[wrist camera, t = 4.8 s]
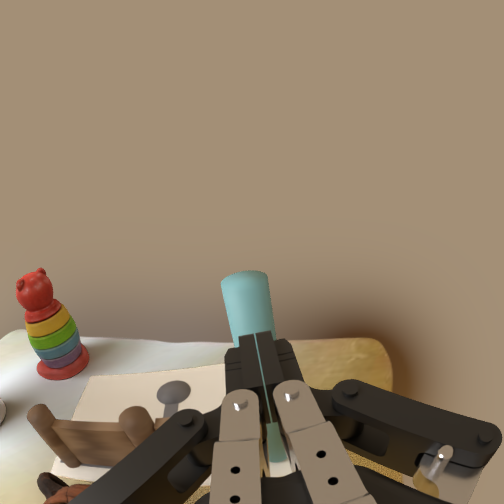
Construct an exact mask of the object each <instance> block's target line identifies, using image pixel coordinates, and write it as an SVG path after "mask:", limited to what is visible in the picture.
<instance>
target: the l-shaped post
mask: <svg viewBox="0 0 504 504" xmlns="http://www.w3.org/2000/svg"><path fill="white" fill-rule="evenodd" d="M221 288H222V292H223V297H224V302H225V306H226V311H227V315H228V320H229V324H230V329H231V333H232V337H233V342H234V346H235V348H236V347H239V339H238V336H242V335H247V334H253V333H254V337H255V342H256V348H257V353H258V358H259V363H260V368H261V374H262V379H263V384H264V389H265V395H266V400H267V405H268V410H269V415H270V421H271V423H270V424H266V426H267V431H268V434H267V439H268V451H269V462H274V463H276V462H281V461H284V460H285V459H287V455H286V452H285V449H284V446H283V443H282V440H281V437H280V432H279V427H278V422H275V423H273V422H272V417H271V412H270V407H269V402H268V397H267V392H266V387H265V382H264V377H263V372H262V366H261V361H260V356H259V351H258V345H257V340H256V335H255V333H258V332H263V331H269V330H271V333H272V336H273V340H276V333H275V326H274V319H273V312H272V305H271V298H270V291H269V284H268V277H267V275H266V274H265V273H263V272H260V271H242V272H238V273H234V274H232V275H229V276H227V277H226V278H225V279H223V281H222V282H221ZM169 418H170V417H167V418H156V419H155V425H154V428H155V430H157V429H158V428H159V427H160V426H161V425H162V424H163V423H165V422H166V421H167V420H168V419H169Z"/></svg>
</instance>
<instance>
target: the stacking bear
mask: <svg viewBox="0 0 504 504" xmlns="http://www.w3.org/2000/svg"><path fill="white" fill-rule="evenodd" d="M16 287H17V288H16V297H17V300H18V301H19V303H20V304H21V305H22V306H23V307H24V308H25V309H26V312H25V324H26V329H27V332H28V337H29V340H30V343H31V345H32V347H33V349H34V350H35V352H36V353H37V355H38V356H39V357H40V359H41V361H40V362H39V363H38V365H37V372H38V374H39V375H40V376H42V377H44V378H47V379H51V380H61V379H66V378H70V377H72V376H74V375H76V374H77V373H79V372H80V371H81V370H83V369H84V367H85V366H86V365H87V363H88V360H89V354H88V352H87V350H86V348H85V347H84V346H83V345H82V344H81V342H80V337H79V333H78V329H77V327H76V324H75V322H74V320H73V318H72V317H71V315H70V314H69V313H68V311H67V309H66V308H65V307H64V305H63V304H61V303H60V302H59V301H57V300H56V299H53V287H52V284H51V282H50V280H49V278H48V277H47V276H46V272H45V270H44V269H42V268H38V269H37V271H36V272H31V273H29V274H26V275H24V276H23V277H22V278H21V279H19V280H18V281H17V283H16Z"/></svg>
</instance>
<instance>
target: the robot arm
mask: <svg viewBox="0 0 504 504" xmlns="http://www.w3.org/2000/svg"><path fill="white" fill-rule="evenodd" d="M255 335H256V340H257V345H258V351H259V356H260V361H261V366H262V372H263V377H264V382H265V387H266V392H267V397H268V402H269V407H270V412H271V417H272V422H273V423H275V422H278V427H279V432H280V437H281V440H282V443H283V446H284V449H285V452H286V455H287V458H288V461H289V464H290V467H291V471H292V473H291V474H288V475H286V476H283V477H271V476H270V465H269V451H268V439H267V434H268V431H267V426H266V424H270V423H271V421H270V415H269V410H268V405H267V400H266V395H265V389H264V384H263V379H262V374H261V368H260V363H259V358H258V353H257V348H256V342H255V337H254V333H253V334H247V335H242V336H238V339H239V347H236V348H230V349H228V351H227V353H226V354H225V356H224V358H225V385H226V396H225V397H224V399H223V401H222V404H221V405H220V406H219V407H218V408H216V409H214V410H212V411H210V412H207V413H204V414H202V413H201V412H200V411H198V410H195V409H183V410H180V411H178V412H176V413H175V414H173V415H172V416H171V417H170V418H169V419H168V420H167V421H166V422H165V423H163V424H162V425H161V426H160V427H159V428H158V429H157V430H156V431H154V432H153V433H152V434H151V435H150V436H149V437H148V438H147V439H145V440H144V441H143V442H142V443H141V444H140V445H139V446H137V447H136V448H135V449H134V450H133V451H132V452H130V453H129V454H128V455H127V456H126V457H124V458H123V459H122V460H121V461H120V462H118V463H117V464H116V465H115V466H114V467H112V468H111V469H110V470H109V471H108V472H106V473H105V474H104V475H103V476H101V477H100V478H99V479H98V480H96V481H95V482H94V483H93V484H91V485H90V486H89V487H88V488H86V489H85V490H84V491H82V492H81V493H80V494H79V495H77V496H76V497H75V498H73V499H72V500H71V501H70V502H69V503H68V504H183V503H184V502H185V501H186V500H187V499H188V498H189V497H190V496H191V495H192V494H193V493H194V492H195V491H196V490H197V489H198V488H199V487H200V486H201V485H202V484H203V483H204V481H205V480H206V479H207V478H208V477H209V476H210V475H211V486H210V492H209V493H207V494H205V495H204V496H202V497H201V498H200V499H199V500H197V501H196V502H195V503H194V504H468V502H469V499H470V497H471V495H472V493H473V491H474V488H475V486H476V484H477V481H478V479H479V477H480V474H481V472H482V470H483V468H484V467H485V465H486V464H487V463H488V462H489V460H490V459H491V458H492V456H493V455H494V454H495V452H496V451H497V449H498V448H499V446H500V444H501V442H502V434H501V431H500V430H499V428H498V427H497V426H495V425H494V424H492V423H488V422H485V421H481V420H477V419H474V418H470V417H467V416H463V415H460V414H456V413H453V412H449V411H446V410H443V409H440V408H436V407H433V406H430V405H427V404H424V403H421V402H418V401H415V400H412V399H409V398H406V397H403V396H400V395H397V394H394V393H392V392H389V391H386V390H383V389H381V388H378V387H375V386H372V385H370V384H367V383H364V382H362V381H359V380H354V379H349V380H344V381H341V382H339V383H338V384H336V385H335V386H334V388H333V390H318V389H314V388H311V387H310V386H308V385H307V384H306V383H305V382H304V379H303V377H302V374H301V371H300V368H299V365H298V362H297V360H296V357H295V354H294V351H293V348H292V346H291V344H290V343H289V342H288V341H287V340H285V339H279V340H273V336H272V333H271V330H269V331H263V332H258V333H255ZM5 414H6V406H5V404H4V403H3V401H2V400H1V398H0V424H1V422H2V421H3V419H4V417H5ZM345 449H348V450H350V451H352V452H354V453H356V454H358V455H360V456H362V457H365V458H367V459H369V460H371V461H374V462H376V463H378V464H381V465H383V466H385V467H388V468H390V469H393V470H395V471H398V472H400V473H403V474H405V475H408V476H410V477H413V484H414V486H415V488H416V489H417V490H416V489H413V488H411V487H409V486H406V485H404V484H402V483H400V482H397V481H395V480H393V479H391V478H388V477H386V476H384V475H382V474H380V473H378V472H376V471H374V470H371V469H369V468H366V467H363V466H358V465H353V463H352V461H351V459H350V458H349V456H348V454H347V452H346V450H345Z"/></svg>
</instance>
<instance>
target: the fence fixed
mask: <svg viewBox="0 0 504 504" xmlns="http://www.w3.org/2000/svg"><path fill="white" fill-rule="evenodd" d="M27 419H28V421H29V422H30V423H31V425H32V426H33V427H34V428H35V430H36V431H37V432H38V433H39V435H40V436H41V437H42V438H43V440H44V441H45V442H46V443H47V444H48V445H49V447H50V448H51V449H52V450H53V451H54V452H55V453H56V455H57V456H58V457H59V458H60V459H61V460H62V461H63V462H64V463H65V464H66V465H67V466H68V467H70V468H77V467H79V466H80V465H81V464H82V463H83V464H91V465H100V466H112V467H114V466H115V465H116V464H117V463H118V462H120V461H121V460H122V459H123V458H124V457H126V456H127V455H128V454H129V453H130V452H132V451H133V450H134V449H135V448H136V447H137V446H139V445H140V444H141V443H142V442H143V441H144V440H145V439H147V438H148V437H149V436H150V435H151V434H152V433H153V432H154V431H156V430H155V428H154V425H155V424H154V422H153V420H152V418H151V416H150V415H149V413H148V411H147V410H146V409H145V408H144V407H141V406H132V407H129V408H127V409H125V410H124V411H123V412H122V413H121V414H120V416H119V422H87V421H70V420H58V419H56V418H55V417H54V416H53V414H52V413H51V411H50V410H49V409H48V407H47V406H46V405H44V404H38V405H35V406H33V407H32V408H31V409H30V410H29V411H28V413H27Z"/></svg>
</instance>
